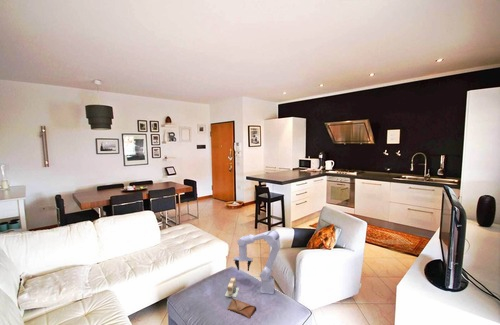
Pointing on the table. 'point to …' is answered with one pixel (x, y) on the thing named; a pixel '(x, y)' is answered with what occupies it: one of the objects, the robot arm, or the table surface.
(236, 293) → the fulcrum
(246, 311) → the sunglasses case
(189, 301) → the table surface
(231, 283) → the beige piece
